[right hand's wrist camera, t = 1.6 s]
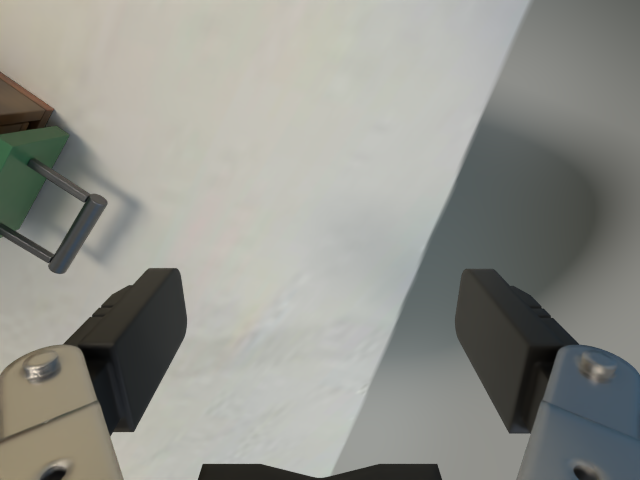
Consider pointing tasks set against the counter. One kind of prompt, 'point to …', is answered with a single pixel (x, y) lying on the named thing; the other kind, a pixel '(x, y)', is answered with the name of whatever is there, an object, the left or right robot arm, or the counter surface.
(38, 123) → the cabinet
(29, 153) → the drawer
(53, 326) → the counter surface
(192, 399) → the counter surface
